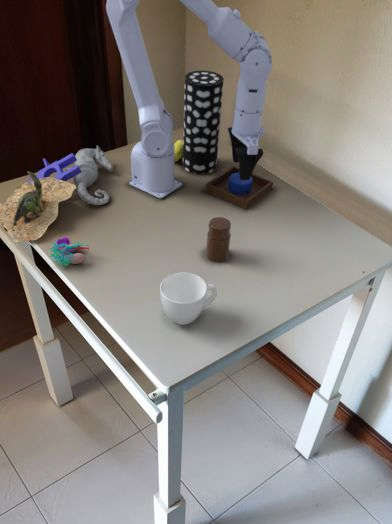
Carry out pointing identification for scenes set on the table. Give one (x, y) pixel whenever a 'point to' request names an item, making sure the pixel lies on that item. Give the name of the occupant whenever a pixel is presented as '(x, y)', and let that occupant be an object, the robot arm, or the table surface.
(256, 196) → the tray
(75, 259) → the anatomy model
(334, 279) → the table surface
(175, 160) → the lemon
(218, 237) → the jar
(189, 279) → the cup
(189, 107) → the spotted tube
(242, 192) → the jar lid
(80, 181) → the seahorse
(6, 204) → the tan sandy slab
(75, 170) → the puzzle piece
